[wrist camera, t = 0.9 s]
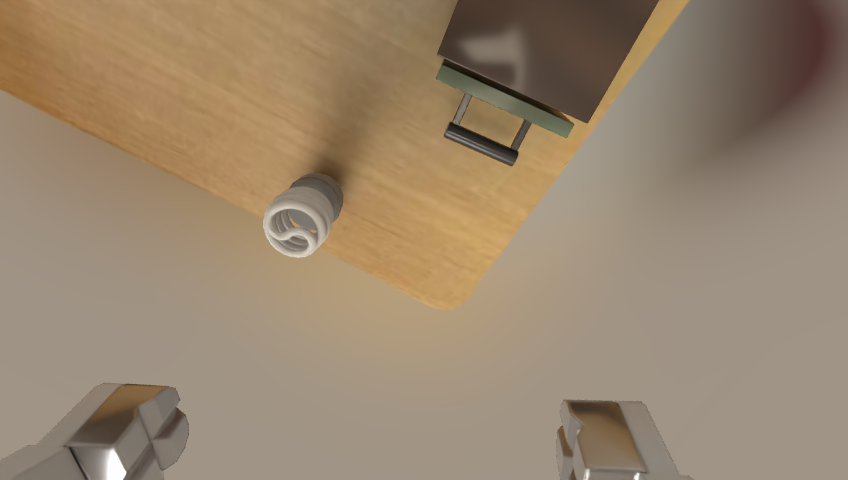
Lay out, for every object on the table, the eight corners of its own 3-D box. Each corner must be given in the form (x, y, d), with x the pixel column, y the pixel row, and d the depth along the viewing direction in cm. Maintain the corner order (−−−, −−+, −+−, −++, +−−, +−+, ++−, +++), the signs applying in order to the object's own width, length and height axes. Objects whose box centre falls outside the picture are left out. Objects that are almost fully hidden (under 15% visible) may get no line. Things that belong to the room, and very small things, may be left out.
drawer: (528, 161, 44) (540, 185, 38) (421, 114, 43) (414, 130, 37) (640, -48, 36) (680, -63, 30) (513, -113, 35) (526, -144, 29)
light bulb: (293, 198, 49) (245, 248, 38) (309, 153, 47) (264, 192, 36) (341, 220, 50) (308, 275, 39) (359, 176, 47) (330, 222, 36)
